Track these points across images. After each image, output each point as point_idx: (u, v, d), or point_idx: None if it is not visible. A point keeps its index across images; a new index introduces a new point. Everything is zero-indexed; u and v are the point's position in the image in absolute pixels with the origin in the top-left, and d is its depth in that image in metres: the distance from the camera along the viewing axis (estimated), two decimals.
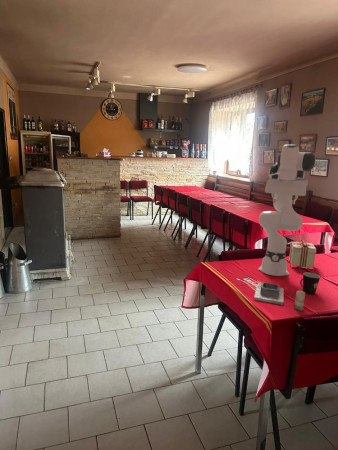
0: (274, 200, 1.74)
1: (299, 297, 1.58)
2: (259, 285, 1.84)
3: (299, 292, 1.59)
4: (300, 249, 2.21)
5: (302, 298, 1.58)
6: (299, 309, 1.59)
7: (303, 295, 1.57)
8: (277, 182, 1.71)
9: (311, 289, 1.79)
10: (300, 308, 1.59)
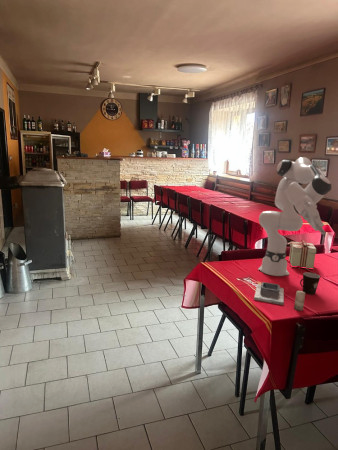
0: (321, 232, 1.63)
1: (299, 297, 1.58)
2: (259, 285, 1.84)
3: (299, 292, 1.59)
4: (300, 249, 2.21)
5: (302, 298, 1.58)
6: (299, 309, 1.59)
7: (303, 295, 1.57)
8: (307, 219, 1.68)
9: (311, 289, 1.79)
10: (300, 308, 1.59)
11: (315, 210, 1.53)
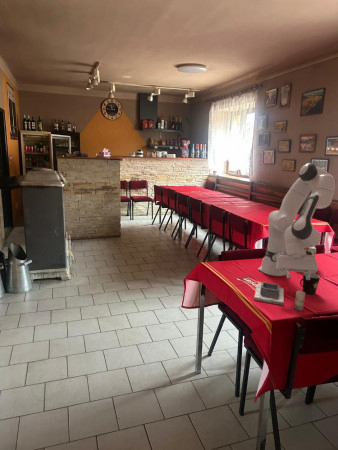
0: None
1: (299, 297, 1.58)
2: (259, 285, 1.84)
3: (299, 292, 1.59)
4: None
5: (302, 298, 1.58)
6: (299, 309, 1.59)
7: (303, 295, 1.57)
8: None
9: (311, 289, 1.79)
10: (300, 308, 1.59)
11: (277, 265, 1.70)
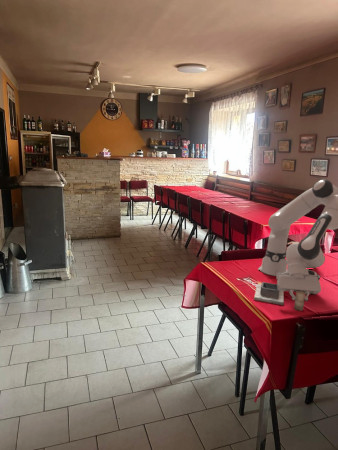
0: None
1: (299, 297, 1.58)
2: (259, 285, 1.84)
3: (299, 292, 1.59)
4: None
5: (302, 298, 1.58)
6: (299, 309, 1.59)
7: (303, 295, 1.57)
8: None
9: None
10: (300, 308, 1.59)
11: (278, 285, 1.62)
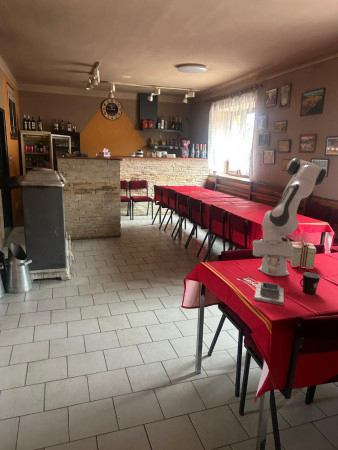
0: None
1: (272, 261, 1.70)
2: (259, 285, 1.84)
3: (272, 256, 1.71)
4: (300, 249, 2.21)
5: (275, 262, 1.70)
6: (272, 273, 1.71)
7: (276, 259, 1.69)
8: None
9: (311, 289, 1.79)
10: (273, 271, 1.71)
11: (253, 251, 1.75)
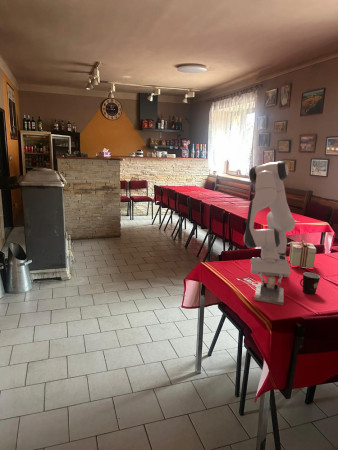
0: None
1: (270, 281, 1.72)
2: (259, 285, 1.84)
3: (270, 276, 1.74)
4: (300, 249, 2.21)
5: (272, 282, 1.72)
6: None
7: (273, 279, 1.72)
8: None
9: (311, 289, 1.79)
10: None
11: (251, 269, 1.76)
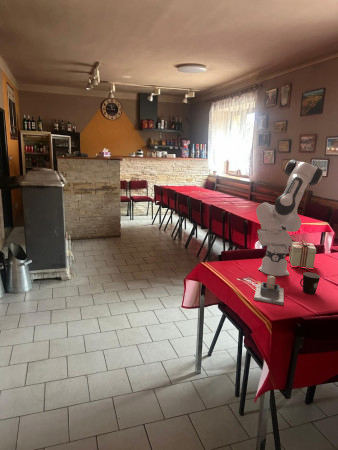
0: None
1: (270, 281, 1.72)
2: (259, 285, 1.84)
3: (270, 276, 1.74)
4: (300, 249, 2.21)
5: (272, 282, 1.72)
6: None
7: (273, 279, 1.72)
8: None
9: (311, 289, 1.79)
10: None
11: (262, 240, 1.69)
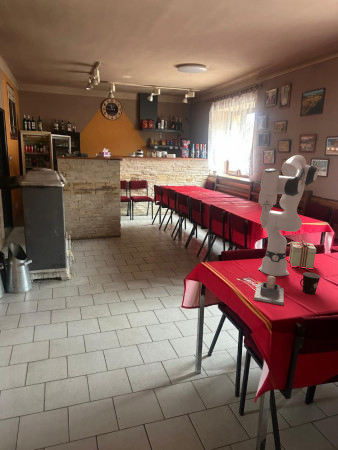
0: None
1: (270, 281, 1.72)
2: (259, 285, 1.84)
3: (270, 276, 1.74)
4: (300, 249, 2.21)
5: (272, 282, 1.72)
6: None
7: (273, 279, 1.72)
8: None
9: (311, 289, 1.79)
10: None
11: (266, 218, 1.65)
